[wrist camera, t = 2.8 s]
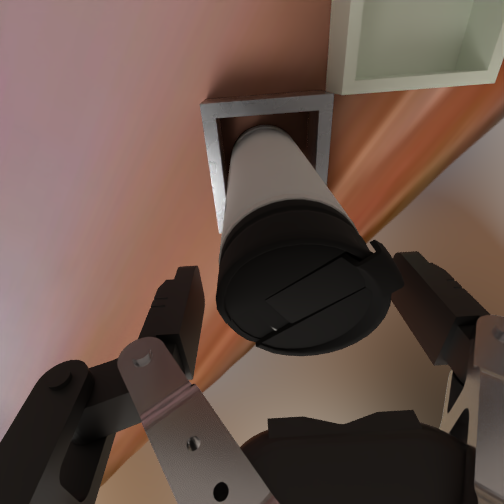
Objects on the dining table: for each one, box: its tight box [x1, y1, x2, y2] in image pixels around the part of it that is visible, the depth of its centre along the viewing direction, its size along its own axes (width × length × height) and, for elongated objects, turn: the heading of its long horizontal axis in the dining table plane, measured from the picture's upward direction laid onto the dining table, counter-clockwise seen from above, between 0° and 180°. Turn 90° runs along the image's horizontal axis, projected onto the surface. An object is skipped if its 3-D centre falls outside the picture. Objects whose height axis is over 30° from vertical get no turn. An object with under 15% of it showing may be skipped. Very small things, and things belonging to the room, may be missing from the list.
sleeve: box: [200, 90, 334, 233], centre depth 25 cm, size 11×10×4 cm
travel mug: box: [216, 125, 404, 356], centre depth 18 cm, size 6×7×20 cm
